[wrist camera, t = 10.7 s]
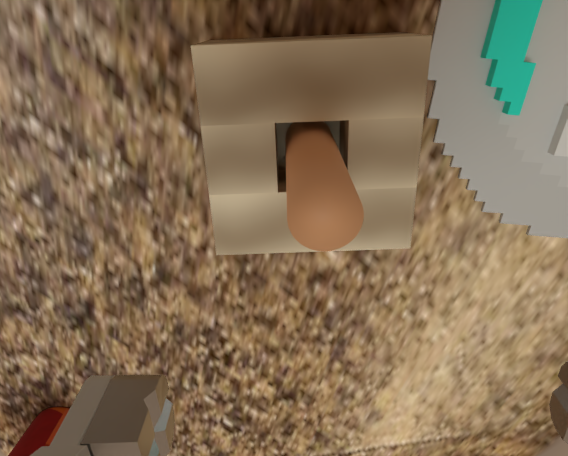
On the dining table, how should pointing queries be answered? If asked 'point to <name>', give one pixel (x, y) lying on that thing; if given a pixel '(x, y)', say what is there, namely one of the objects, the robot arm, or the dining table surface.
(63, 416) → the paper cup
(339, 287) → the dining table surface
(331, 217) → the dowel pin
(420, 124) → the bore block
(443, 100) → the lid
